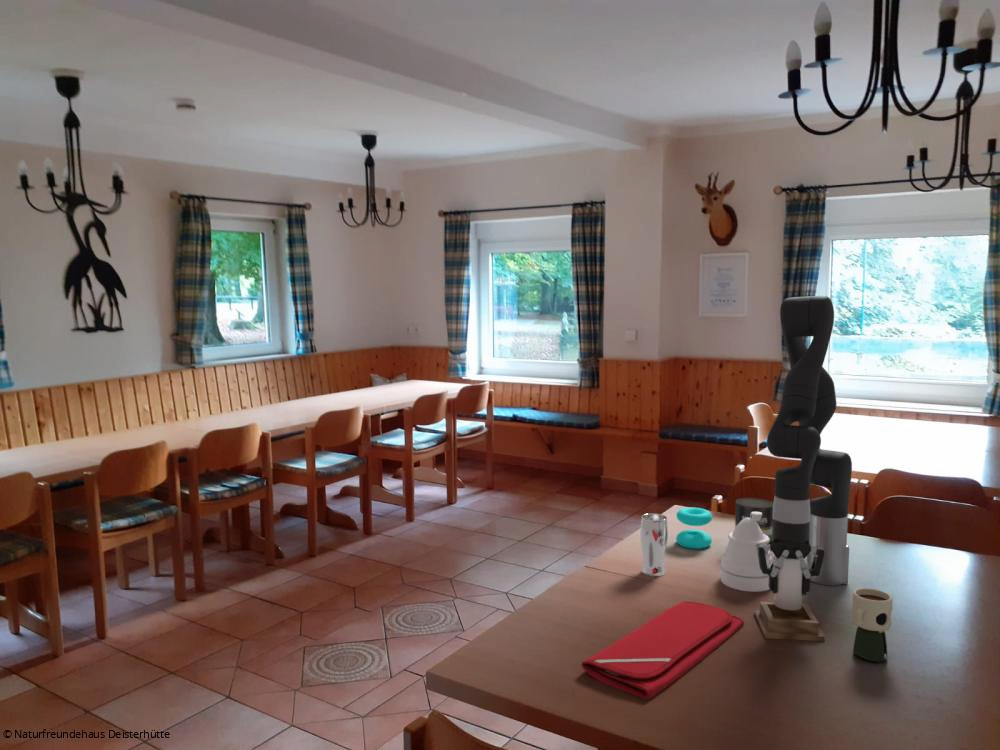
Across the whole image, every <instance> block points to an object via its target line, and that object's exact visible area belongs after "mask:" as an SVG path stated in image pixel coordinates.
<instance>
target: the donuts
mask: <svg viewBox="0 0 1000 750" xmlns="http://www.w3.org/2000/svg"><path fill="white" fill-rule="evenodd" d="M712 518H713V516H712V513H711V512H710V511H709V510H707V509H705V508H701V507H692V506H691V507H690V506H689V507H683V508H680V509H678V511H677V512H676V519H677V520H678V521H679V522H680V523H681V524H684V525H686V526H690V527H691V526H693V527H700V526H701V527H702V526H705V525H708V524H709V523H711V522H712ZM675 540H676V542H677V544H678V545H679V546H681V547H684V548H687V549H691V550H692V549H693V550H694V549H695V550H696V549H698V550H701V549H705V548H708V547H710V546H711V545H712V537H711V536H710V534H708V533H707V532H705V531H703V530H700V529H685V530H682V531H680V532H678V533H677V534H676V537H675Z"/></svg>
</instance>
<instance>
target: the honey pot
mask: <svg viewBox="0 0 1000 750" xmlns="http://www.w3.org/2000/svg"><path fill="white" fill-rule="evenodd" d="M751 515H752V518H745V519H743V520H742V521H740V523H739V524H738V525H737V527H736V528H735V527H734V530H733V531H731V532H729V534H728V535H727V538H728V544H727V545H726V546H725V551H724V552H723V555H722V557H721V560H720V562H721V563H720V581H721V582H722V584H723V585H725V586H726V587H728V588H732V589H735V590H739V591H745V592H756V593H757V592H766V591H768V590H769V591H770V588H769V575H768V574H763V573H762V571H761V569H760V565H759V559H758V553H757V547H756V546H757V545H758V544H761V545H767V543H769V541H770V539H769V537H768V536H767V535H765V534H763V533H762V531H761V529H760V527H759V525H758V524H757V523H756V521H758V520H760V519H761V517H762V513H761V512H751ZM770 553H771V552H770V550H769V551H768V555H766V556H765V557H766V563H767V567H770V565H771V563H772V560H773V556H772V554H771V555H770Z"/></svg>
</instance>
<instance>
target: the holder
mask: <svg viewBox="0 0 1000 750" xmlns="http://www.w3.org/2000/svg"><path fill="white" fill-rule="evenodd" d="M753 615H754V617H755V619H756V621H757V623H758V626H759V627H760V630H761V632H762V634H763V636H764V638H765V639H774V640H775V639H776V640H792V641H793V640H797V641H813V642H814V641H815V642H825V641H826V636H825V634H824V633H823V631H822V630H821V628H820V622H819V621H818V619H817V617H816V616H815V615H814V613H813V612H812V610H811V608H810V607H809V605H808V604H807V603H802V607H801V609H799V610H785V609H781V608H779V607H777V606H775V605H774V601H773V602H772V601H759V610H758V609H757V610H754V613H753Z"/></svg>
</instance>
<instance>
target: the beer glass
mask: <svg viewBox="0 0 1000 750" xmlns="http://www.w3.org/2000/svg"><path fill="white" fill-rule="evenodd" d="M640 517H641V520H640V542H641V543H640V544H641V549H642V554H643V557H642V558H643V561H642V562H643V563H642V568H641V573H642V574H643V573H644V575H645V574H646V576H648V575H649V576H648V577H654V576H657V577H662V575H663V576H664V575H666V568H665V553H666V549H667V544H668V536H669V535H668V534H669V533H668V532H669V530H668V517H667V515H665V514H660V513H645V514H642V515H641V516H640Z"/></svg>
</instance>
